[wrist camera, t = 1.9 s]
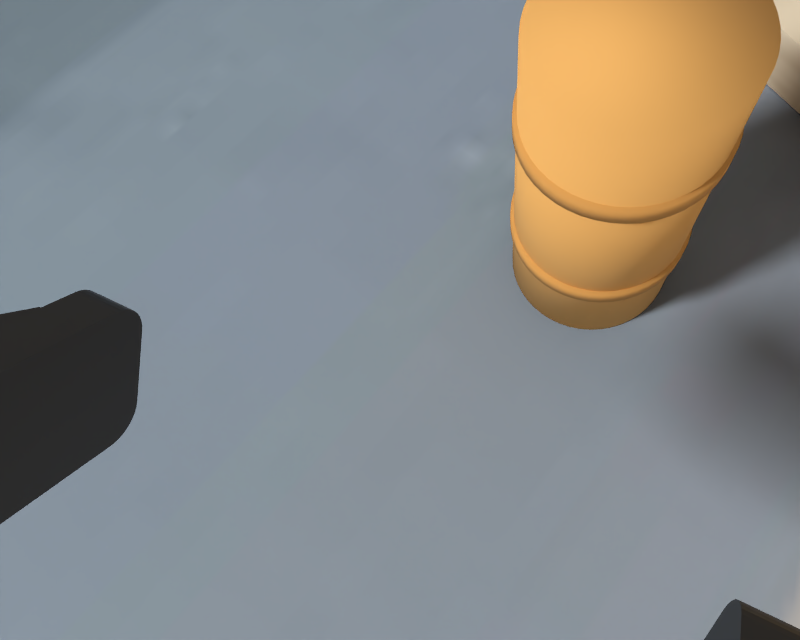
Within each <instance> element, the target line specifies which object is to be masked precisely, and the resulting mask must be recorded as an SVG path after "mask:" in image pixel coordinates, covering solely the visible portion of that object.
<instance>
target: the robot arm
mask: <svg viewBox="0 0 800 640" xmlns="http://www.w3.org/2000/svg"><path fill="white" fill-rule="evenodd" d="M141 338H142V322H141V319H140V316H139V315H138V314H137V313H136V312H135V311H133V310H131V309H129V308H127V307H125V306H123V305H120V304H118V303H116V302H114V301H112V300H110V299H108V298H106V297H104V296H102V295H99V294H97V293H95V292H93V291H90V290H81V291H78V292H75V293H73V294H70V295H68V296H66V297H64V298H62V299H59V300H57V301H55V302H53V303H50V304H48V305H46V306H44V307H42V308H40V307H37V308H32V309H26V310H21V311H16V312H10V313H5V314H0V524H1V523H2V522H4V521H5V520H7V519H8V518H9V517H11V516H12V515H14V514H15V513H17V512H18V511H19V510H21V509H22V508H24V507H25V506H26V505H28V504H29V503H31V502H32V501H33V500H35V499H36V498H38V497H39V496H41V495H42V494H43V493H45V492H46V491H48V490H49V489H50V488H52V487H53V486H55V485H56V484H57V483H59V482H60V481H62V480H63V479H64V478H66V477H67V476H69V475H70V474H72V473H73V472H74V471H76V470H77V469H79V468H80V467H81V466H83V465H84V464H86V463H87V462H88V461H90V460H91V459H93V458H94V457H96V456H97V455H98V454H100V453H101V452H103V451H104V450H105V449H107V448H108V447H110V446H111V445H112V444H113V443H115V442H116V441H117V440H118V439H119V438H120V437H121V435H122V434H123V433H124V432H125V430H126V429H127V427H128V426H129V424H130V422H131V420H132V418H133V415H134V413H135V409H136V405H137V395H138V380H139V366H140V352H141ZM704 640H800V629H798V628H796V627H794V626H792V625H790V624H788V623H786V622H784V621H781V620H779V619H777V618H775V617H773V616H771V615H769V614H767V613H765V612H762V611H760V610H758V609H756V608H754V607H752V606H750V605H748V604H746V603H744V602H741V601H739V600H737V599H735V600H733V601H731V602H730V603H729V604H728V605H727V606H726V607H725V609H724V610H723V612H722V613H721V615H720V616H719V618H718V619H717V621H716V622H715V624H714V625H713V627H712V628H711V630H710V632H709V633H708V635H707V636H706V638H705V639H704Z"/></svg>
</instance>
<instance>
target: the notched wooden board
mask: <svg viewBox="0 0 800 640" xmlns="http://www.w3.org/2000/svg"><path fill="white" fill-rule="evenodd" d="M773 1H774V4H775V6H776V9H777V11H778V16H779V21H780V25H781V44H780V51H779V56H778V59H777V62H776V65H775V68H774V70H773V72H772V74H771V76H770V78H769V80H768V82H767V85H768V86H769V87H770V88H772V89H773V90H774V91H775V92H776V93H777V94H778V95H779V96H780V97H781V98H783V99H784V100H785V101H786V102H787V103H788V104H789V105H790V106H791V107H792V108H794V109H795V110H796V111H797V112H798V113H799V114H800V0H773Z"/></svg>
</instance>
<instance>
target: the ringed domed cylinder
mask: <svg viewBox="0 0 800 640" xmlns="http://www.w3.org/2000/svg"><path fill="white" fill-rule="evenodd" d="M780 44H781V25H780V21H779V16H778V11H777V9H776V6H775V4H774V1H773V0H527V1H526V4H525V6H524V8H523V12H522V16H521V19H520V27H519V44H518V80H517V89H516V93H515V97H514V101H513V111H512V135H513V143H514V148H515V152H516V153H515V189H514V194H513V198H512V202H511V212H510V225H511V235H512V240H513V269H514V274H515V277H516V280H517V283H518V285H519V287H520V289H521V291H522V293H523V294H524V296H525V297H526V299H527V300H528V301H529V302H530V303H531V304H532V305H533V307H534V308H536V309H537V310H538V311H539V312H540V313H542V314H543V315H545V316H546V317H548V318H549V319H551V320H553V321H556V322H558V323H560V324H563V325H566V326H569V327H574V328H578V329H589V330H590V329H604V328H610V327H614V326H617V325H620V324H623V323H625V322H627V321H629V320H631V319H633V318H634V317H636V316H638V315H639V314H640V313H641V312H643V311H644V310H645V309H646V308H647V307H648V306H649V305H650V304H651V303H652V302H653V300H654V299H655V298H656V296H657V295H658V293H659V291H660V289H661V287H662V285H663V283H664V281H665V279H666V277H667V276H668V275H669V274H670V273H671V272H672V270H673V269H674V268H675V266H676V265H677V263H678V262H679V260H680V258H681V256H682V254H683V252H684V250H685V248H686V246H687V244H688V242H689V239H690V236H691V232H692V227H693V225H694V223H695V221H696V219H697V217H698V215H699V213H700V211H701V210H702V208H703V206H704V204H705V202H706V200H707V198H708V196H709V194H710V192H711V190H712V189H713V188H714V187H715V186H716V185H717V184H718V183H719V181H720V180H721V179H722V177H723V176H724V174H725V173H726V171H727V169H728V167H729V165H730V163H731V162H732V160H733V158H734V156H735V154H736V152H737V150H738V148H739V145H740V142H741V139H742V136H743V131H744V126H745V124H746V122H747V120H748V118H749V117H750V115H751V113H752V111H753V109H754V107H755V105H756V103H757V101H758V99H759V97H760V95H761V93H762V91H763V89H764V87H765V86H766V84H767V82H768V80H769V78H770V76H771V74H772V72H773V70H774V68H775V65H776V62H777V59H778V56H779V51H780Z"/></svg>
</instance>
